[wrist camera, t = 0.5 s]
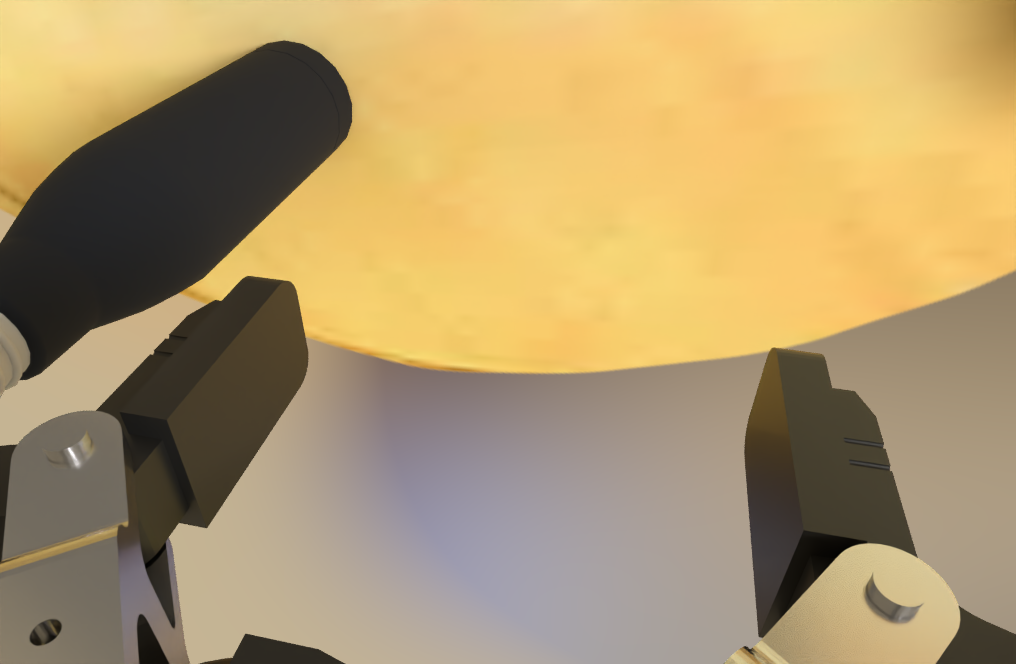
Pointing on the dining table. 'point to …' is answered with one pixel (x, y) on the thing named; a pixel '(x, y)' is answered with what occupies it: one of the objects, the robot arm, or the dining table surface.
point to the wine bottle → (163, 200)
